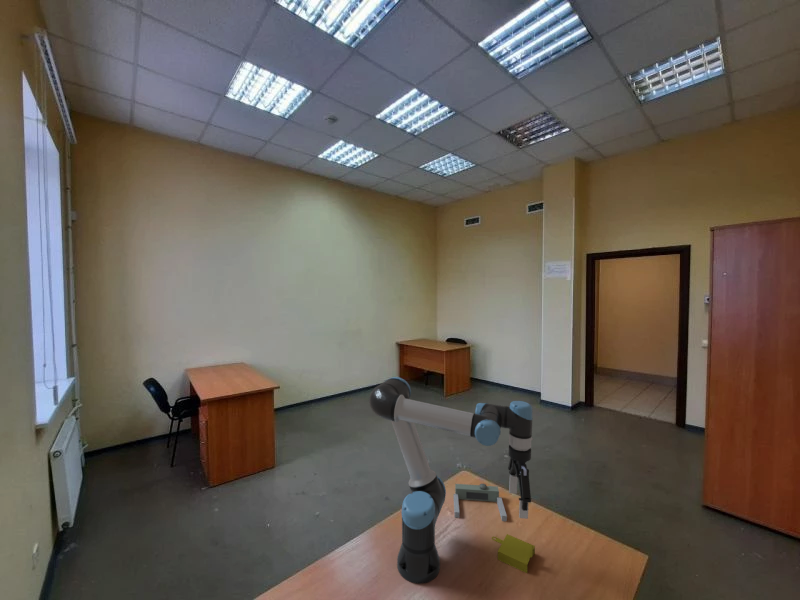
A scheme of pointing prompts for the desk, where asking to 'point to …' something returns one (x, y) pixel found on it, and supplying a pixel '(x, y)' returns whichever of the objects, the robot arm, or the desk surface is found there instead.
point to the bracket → (515, 552)
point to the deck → (478, 496)
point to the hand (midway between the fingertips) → (517, 504)
